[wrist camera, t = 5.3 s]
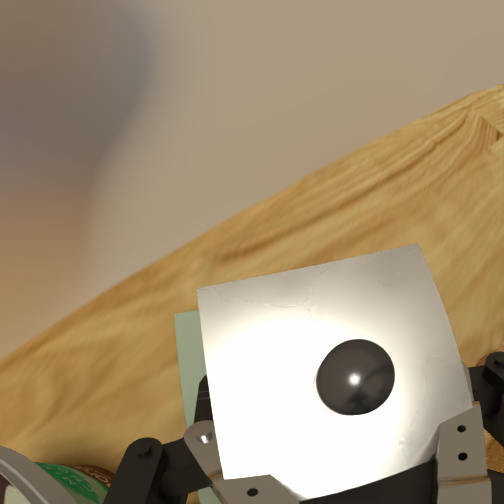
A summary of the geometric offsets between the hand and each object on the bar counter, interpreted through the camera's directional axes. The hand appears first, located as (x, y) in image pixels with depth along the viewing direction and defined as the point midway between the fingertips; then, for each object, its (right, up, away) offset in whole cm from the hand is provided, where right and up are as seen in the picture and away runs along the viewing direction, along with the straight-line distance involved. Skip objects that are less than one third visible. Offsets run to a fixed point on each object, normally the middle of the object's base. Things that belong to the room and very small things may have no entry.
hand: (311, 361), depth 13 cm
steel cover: (+1, -4, +3) cm, 5 cm away
